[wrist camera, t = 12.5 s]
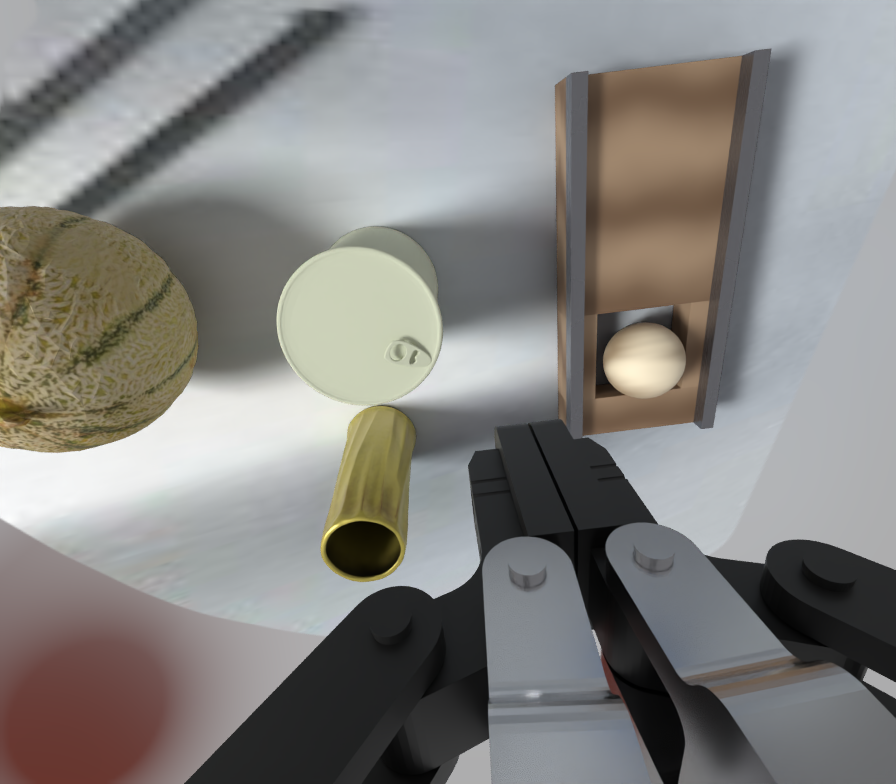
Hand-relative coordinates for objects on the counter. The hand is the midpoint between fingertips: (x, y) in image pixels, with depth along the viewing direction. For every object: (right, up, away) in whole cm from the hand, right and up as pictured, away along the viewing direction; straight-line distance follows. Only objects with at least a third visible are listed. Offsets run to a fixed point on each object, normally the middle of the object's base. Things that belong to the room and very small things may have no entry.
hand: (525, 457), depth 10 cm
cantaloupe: (-26, +8, +25) cm, 37 cm away
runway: (+13, +11, +25) cm, 30 cm away
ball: (+14, +4, +25) cm, 29 cm away
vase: (-8, -2, +31) cm, 32 cm away
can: (-7, +10, +25) cm, 28 cm away
